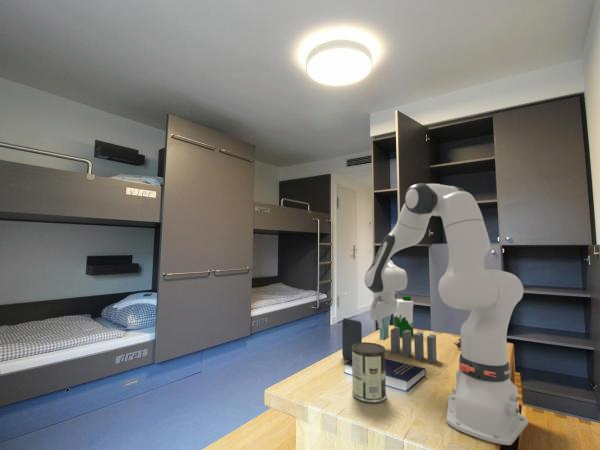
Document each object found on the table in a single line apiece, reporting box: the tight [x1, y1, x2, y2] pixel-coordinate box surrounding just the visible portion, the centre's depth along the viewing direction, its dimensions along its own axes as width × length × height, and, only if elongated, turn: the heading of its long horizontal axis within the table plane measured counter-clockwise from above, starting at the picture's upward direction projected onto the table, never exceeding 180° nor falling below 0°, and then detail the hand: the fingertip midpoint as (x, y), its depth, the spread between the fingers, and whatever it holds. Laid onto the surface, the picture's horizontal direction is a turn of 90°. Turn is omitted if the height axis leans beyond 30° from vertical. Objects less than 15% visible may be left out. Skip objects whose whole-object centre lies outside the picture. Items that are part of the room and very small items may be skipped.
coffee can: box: [351, 341, 387, 403], centre depth 91 cm, size 10×10×14 cm
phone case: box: [341, 317, 363, 361], centre depth 119 cm, size 9×2×16 cm, turn 46°
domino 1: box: [379, 316, 390, 341], centre depth 131 cm, size 2×5×10 cm, turn 140°
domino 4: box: [413, 331, 425, 362], centre depth 121 cm, size 2×5×10 cm, turn 140°
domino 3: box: [401, 330, 413, 359], centre depth 124 cm, size 2×5×10 cm, turn 140°
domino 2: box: [390, 327, 401, 356], centre depth 127 cm, size 2×5×10 cm, turn 140°
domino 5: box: [426, 333, 437, 365], centre depth 118 cm, size 2×5×10 cm, turn 140°
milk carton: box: [393, 295, 415, 338], centre depth 154 cm, size 9×9×20 cm
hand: (384, 326), depth 131 cm, fingers closed on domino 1, 5 cm apart
